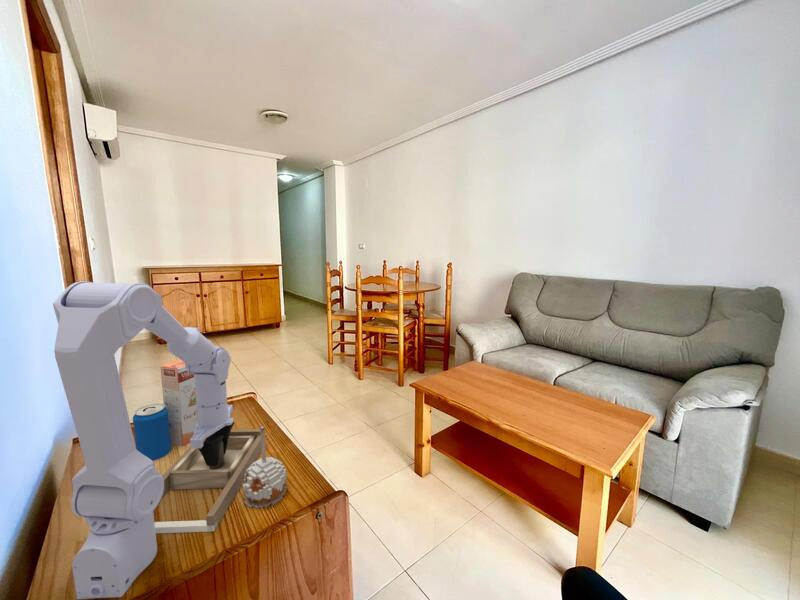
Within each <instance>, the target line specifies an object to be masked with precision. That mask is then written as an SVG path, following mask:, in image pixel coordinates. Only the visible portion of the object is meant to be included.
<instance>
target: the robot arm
mask: <svg viewBox="0 0 800 600" xmlns="http://www.w3.org/2000/svg"><path fill="white" fill-rule="evenodd" d="M162 297H163V296H162V295H161V294H159V293H158V292H156V290H154V288H152V286H151V285H149V284H148V283H144V282H132V283H123V282H119V283H117V282H93V281H89V280H88V281H87V280H86V281H83V280H81V281H77V282H73V283H71V284H70V285H68V286H67V287H66V288H65V289H64V290H63V292H61V294H60V295H59V296H58V297H57V298H56V299H55V300H54V302H53V303H52V306H53V309H54V314H55V317H56V320H57V324H58V325H57V332H56V337H55V338H56V339H55V344H54V349H53V350H54V351H53V352H54V357H55V361H56V364H57V368H58V371H59V376H60V379H61V383H62V385H63V389H64V393H65V396H66V400H67V402H68V407H69V410H70V415H71V417H72V421H73V424H74V429H75V432H76V434H77V435H76V436H77V439H78V441H79V445H80V449H81V452H82V455H83V460H84V463H85V465H84V466H82V468H81V469H79V471H78V472H77V473H76V474H75V475H74V476H73V477H72V479H71V484H72V488H73V489H72V491H73V493H72V497H71V503H70V506H71V511H72V513H73V514H74V515H75V516H77V517H81V518H82V517H83V518H84V521H85V525H88V527H89V533H88V535H87V538H86V541H85V542H84V544H83V545H82V547H81V548H80V549H79V551H78V552H77V553H76V554H75V556H74V558H73V559H72V563H71V570H72V575H73V583H74V589H75V595H76V600H86V599H87V600H88V599H107V598H112V599H113V598H121V597H122V598H123V596H124V595H125V593H126V592H127V591H128V589H129V588H130V586H131V585H132V584H133V582H134V581H135V580H136V579H137V577H138V576H139V575H140V574H141V573H143V571H144V570H146V568H147V567H149V566H150V565H151V564H152V562H153V561H154V559H155V558H156V555H157V553H158V543H157V534H156V532H155V523H154V522H155V515H154V510H155V509H156V508H157V506H158V505H159V503H160V501H161V499H162V498H163V497H162V495H163V491H164V479H163V476H162V474H161V473H160V472H159V471H158V470H157V468H156V465H155V462H154V461H152V460H151V459H149V458H148V457H146V456H145V455H143V454H142V453H140V452H139V451H138V450H137V449H136V443H135V436H134V434H133V433H134V432H133V430H132V425H131V420H130V415H129V412H128V406H127V404H126V399H125V394H124V391H123V388H122V387H123V386H122V383H121V382H122V381H121V378H120V374H119V369H118V365H117V362H116V361H117V360H116V357H115V356H116V353H117V351H118V350H119V349H120V348H121V347H122V348H123V347H124V346H127V345H128V344H129V343H130V342H131V341H132V340H133V339H134V338H135V337H136V336H138V334H139V333H141V331H142V330H144V329H145V330H146V331H148V332H150V333H152V334H153V335H155V336H157V337H158V338H160V339H162V340H163V341H165V342H166V343H167V344H166V347H167V348H166V349H167V351H168V352H169V353H170V354H172V355H173V356H175V357H176V358H178V360H179V359H181V360H182V361H183V362H184V363H185V366H186V370H187V372H188V373H194V381H195V393H196V406H197V418H198V423H197V425H196V428H195V432H194V435H193V437H192V438H191V439H190V443H189V445H190V446H191V449H197V448H198V449H199V451H200V452H201V454H202V456H203V458H204V460H205V463H206V465H207V466H216V465H217V464H218V461H219V449H220V444H221V441H223V449H224V455H225V453H226V449H227V443H228V438H229V435H230V432H231V429H233V428H234V424H235V419H234V417H231V415H233V413H234V407H233V404H228V396H227V395H228V393H227V383H226V381H227V380H228V378H229V367H230V365H231V357H232V356H231V355H230V353H229V351H228V350H226V349H225V348H224V347H222V346H216V345H215V344H214V343H213V341H212V340H210V339H208V338H207V337H206V336H204V334H202V333H201V329H199V328H198V327H195V326H194V327H193V326H185V327H184V326H183V325H182V324H181V323H180V322H179V321H178V320H177V319H176V317H174V316H173V314H172V313H170V311H169V310H168V309H166V308H165V307H164V306H163V298H162ZM190 446H189V447H190ZM161 497H162V498H161Z"/></svg>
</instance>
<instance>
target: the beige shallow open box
mask: <svg viewBox="0 0 800 600" xmlns="http://www.w3.org/2000/svg"><path fill="white" fill-rule="evenodd" d="M254 441H255V436H229V438H228V443H227V449H226V453H225V455H224V449H223V441H221V444H220V449H219V461H218V464H217V465H216V466H207V465H206V463H205V460H204V458H203V456H202V454H201V452H200V451H199V449H198V448H197V449H191V450H190V451H189V452H188V453H187V454H186V456H185V457H184V458H183V459H182V460H181V461H180V462H179V463H178V464H177V465H176V466H175V467H174V468H173V469H172V471H171V472H170V473H169V479H170V489H169V490H170V491H171V490H198V489H199V490H201V489H203V490H204V489H205V490H206V489H224V488H225V486H226V485H227V483H228V481H229V480H230V478H231V477H232V475H233V474H234V472H235V471H236V469H237V468H238V466H239V464H240V463H241V461H242V460H243V458H244V457H245V455H246V454H247V452H248V450H249V449H250V447H251V446H252V444H253V443H254Z"/></svg>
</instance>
